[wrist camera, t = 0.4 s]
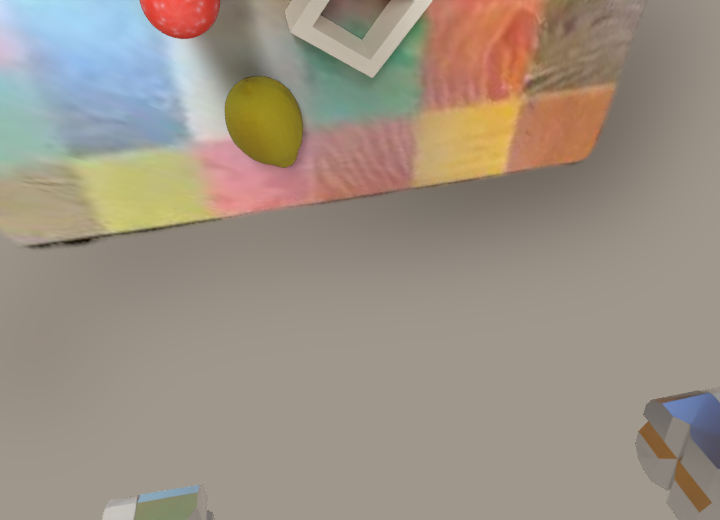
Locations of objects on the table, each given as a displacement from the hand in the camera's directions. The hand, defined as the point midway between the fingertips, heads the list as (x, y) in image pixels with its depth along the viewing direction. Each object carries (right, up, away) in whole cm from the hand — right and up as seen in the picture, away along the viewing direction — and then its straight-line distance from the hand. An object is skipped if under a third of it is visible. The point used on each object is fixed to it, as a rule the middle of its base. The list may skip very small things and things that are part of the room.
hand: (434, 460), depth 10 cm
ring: (-2, +30, +46) cm, 55 cm away
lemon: (-12, +21, +53) cm, 59 cm away
